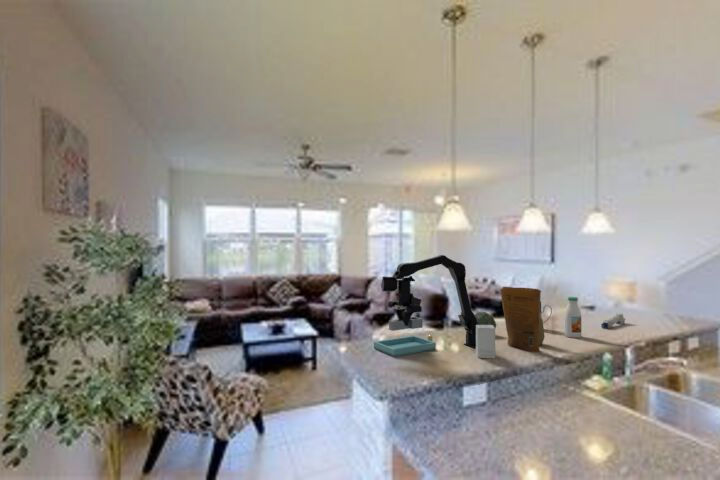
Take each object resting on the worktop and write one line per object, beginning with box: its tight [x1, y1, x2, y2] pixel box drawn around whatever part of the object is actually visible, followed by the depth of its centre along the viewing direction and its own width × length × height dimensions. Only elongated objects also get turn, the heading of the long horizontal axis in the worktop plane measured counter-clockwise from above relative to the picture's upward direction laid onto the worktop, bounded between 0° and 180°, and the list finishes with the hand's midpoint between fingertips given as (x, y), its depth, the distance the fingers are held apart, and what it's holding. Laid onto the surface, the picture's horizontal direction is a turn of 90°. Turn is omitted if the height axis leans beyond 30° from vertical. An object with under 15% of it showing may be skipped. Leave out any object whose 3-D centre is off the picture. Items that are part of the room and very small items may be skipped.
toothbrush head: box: [600, 312, 626, 330], centre depth 238 cm, size 5×7×25 cm
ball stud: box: [427, 334, 433, 342], centre depth 202 cm, size 2×2×4 cm
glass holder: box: [540, 300, 553, 324], centre depth 230 cm, size 9×14×15 cm, turn 43°
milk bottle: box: [563, 296, 582, 339], centre depth 213 cm, size 8×8×20 cm
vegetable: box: [474, 311, 497, 330], centre depth 221 cm, size 12×13×15 cm
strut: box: [388, 316, 424, 332], centre depth 191 cm, size 16×6×4 cm, turn 120°
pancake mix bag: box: [499, 286, 542, 353], centre depth 191 cm, size 7×19×28 cm, turn 36°
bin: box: [373, 335, 437, 357], centre depth 191 cm, size 16×23×3 cm
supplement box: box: [475, 325, 496, 359], centre depth 179 cm, size 7×7×13 cm
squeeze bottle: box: [538, 314, 546, 346], centre depth 198 cm, size 8×8×18 cm
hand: (404, 325), depth 191 cm, fingers closed on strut, 3 cm apart
